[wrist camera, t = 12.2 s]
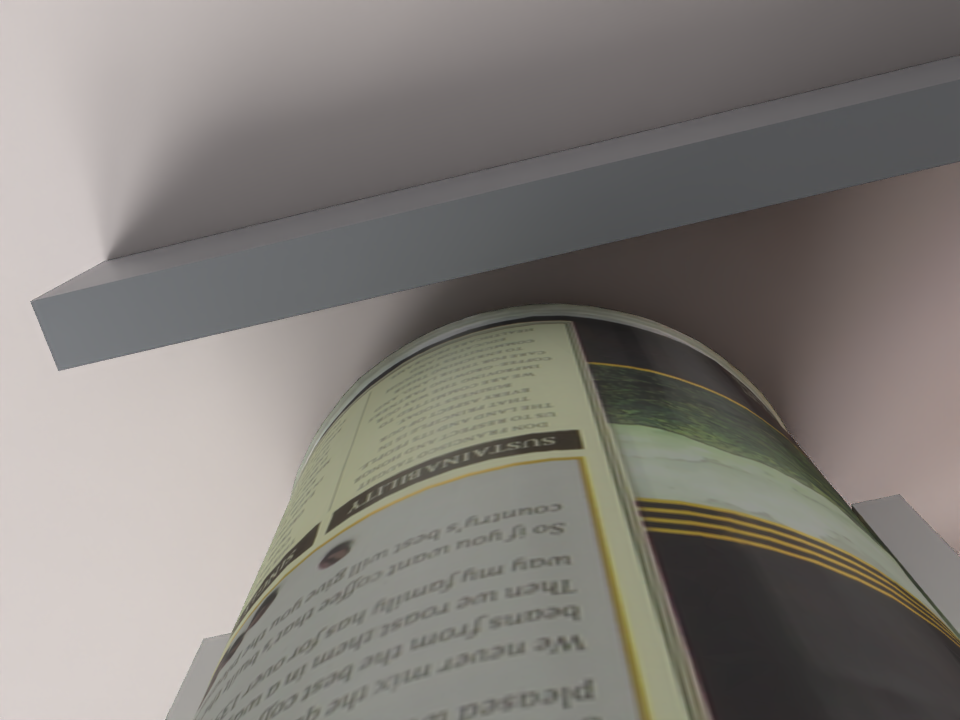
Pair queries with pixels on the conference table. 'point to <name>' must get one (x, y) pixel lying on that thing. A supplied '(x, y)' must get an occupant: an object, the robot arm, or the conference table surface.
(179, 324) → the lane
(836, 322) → the conference table surface
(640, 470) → the coffee can
